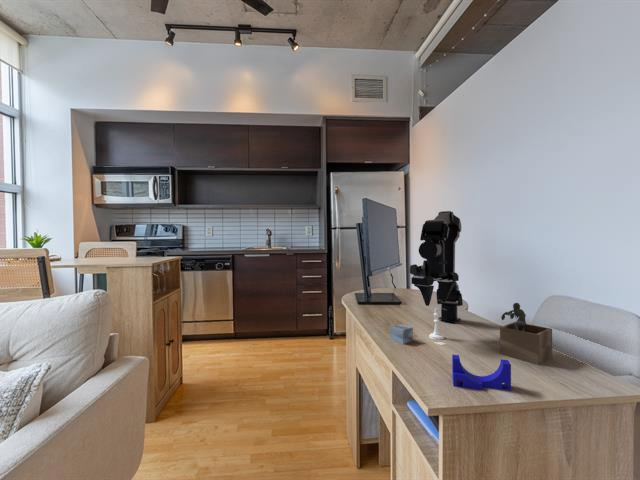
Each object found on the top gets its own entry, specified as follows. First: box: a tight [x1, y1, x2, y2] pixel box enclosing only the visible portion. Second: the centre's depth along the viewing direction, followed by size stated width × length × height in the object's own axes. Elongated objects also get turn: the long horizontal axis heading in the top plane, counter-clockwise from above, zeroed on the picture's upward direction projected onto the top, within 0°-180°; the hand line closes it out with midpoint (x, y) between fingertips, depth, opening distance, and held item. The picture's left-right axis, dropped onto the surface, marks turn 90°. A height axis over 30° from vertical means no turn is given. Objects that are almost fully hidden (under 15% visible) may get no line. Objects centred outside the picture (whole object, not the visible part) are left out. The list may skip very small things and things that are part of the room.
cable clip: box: [451, 354, 512, 392], centre depth 76 cm, size 12×4×6 cm, turn 71°
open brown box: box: [499, 321, 553, 366], centre depth 95 cm, size 10×10×8 cm
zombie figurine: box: [500, 302, 528, 332], centre depth 99 cm, size 5×7×15 cm
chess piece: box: [428, 307, 445, 341], centre depth 111 cm, size 5×5×10 cm
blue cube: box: [390, 323, 414, 345], centre depth 108 cm, size 5×5×5 cm
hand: (435, 303), depth 111 cm, fingers open, 9 cm apart
